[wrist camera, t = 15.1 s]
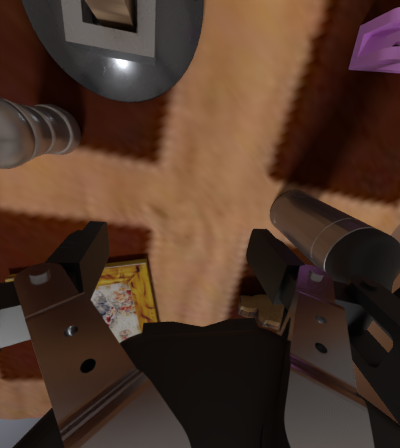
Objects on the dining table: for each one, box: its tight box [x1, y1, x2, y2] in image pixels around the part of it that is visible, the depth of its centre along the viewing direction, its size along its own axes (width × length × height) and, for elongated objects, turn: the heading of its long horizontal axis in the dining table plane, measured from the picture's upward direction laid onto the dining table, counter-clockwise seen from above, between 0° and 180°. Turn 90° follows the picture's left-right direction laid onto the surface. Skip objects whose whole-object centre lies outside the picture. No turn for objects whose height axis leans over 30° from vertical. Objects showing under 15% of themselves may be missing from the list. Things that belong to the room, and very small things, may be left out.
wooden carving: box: [237, 294, 284, 330], centre depth 51 cm, size 16×5×10 cm, turn 82°
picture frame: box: [5, 259, 158, 343], centre depth 49 cm, size 27×2×30 cm
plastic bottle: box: [0, 97, 81, 169], centre depth 23 cm, size 6×7×20 cm
